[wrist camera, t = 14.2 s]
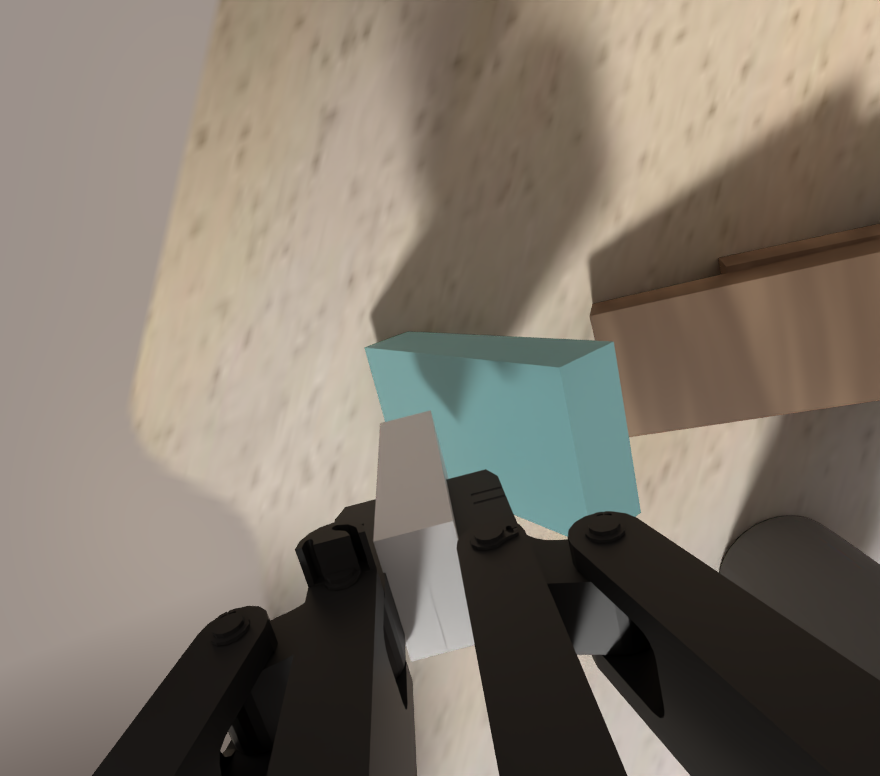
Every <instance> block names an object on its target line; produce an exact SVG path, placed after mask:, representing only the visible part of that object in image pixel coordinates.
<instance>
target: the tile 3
mask: <svg viewBox="0 0 880 776" xmlns="http://www.w3.org/2000/svg"><path fill="white" fill-rule="evenodd" d="M879 238H880V224H875V225H871V226H866V227H861V228H857V229H852V230H847V231H843V232H838V233H833V234H828V235H824V236H819V237H814V238H810V239H805V240H800V241H796V242H791V243H786V244H782V245H777V246H772V247H767V248H763V249H758V250H753V251H749V252H744V253H739V254H735V255H730V256H725V257H720V258H719V266H720V273H721V274H726V273H730V272H735V271H739V270H743V269H748V268H752V267H756V266H761V265H765V264H770V263H774V262H778V261H783V260H787V259H791V258H796V257H800V256H805V255H809V254H813V253H818V252H822V251H827V250H831V249H835V248H840V247H844V246H848V245H853V244H857V243H862V242H866V241H870V240H875V239H879Z"/></svg>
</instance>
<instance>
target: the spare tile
mask: <svg viewBox="0 0 880 776" xmlns="http://www.w3.org/2000/svg"><path fill="white" fill-rule="evenodd" d="M365 351H366V355H367V358H368V362H369V365H370V369H371V372H372V376H373V380H374V383H375V387H376V390H377V394H378V397H379V401H380V404H381V408H382V412H383V415H384V419H385V422H387V421H391V420H395V419H399V418H403V417H407V416H411V415H414V414H418V413H422V412H426V411H430V410H431V413H432V417H433V421H434V425H435V428H436V432H437V436H438V440H439V444H440V447H441V451H442V455H443V459H444V463H445V466H446V470H447V474H448V478H449V479H450V478H454V477H458V476H462V475H465V474H469V473H473V472H477V471H481V470H485V469H486V470H488V471H490V472H492V473H494V474H495V475H497V476H498V478H499V480H500V482H501V485H502V488H503V490H504V492H505V495H506V497H507V499H508V502H509V504H510V507H511V509H512V512H513V514H514V515H516V516H519V517H521V518H524V519H526V520H528V521H531V522H533V523H536V524H538V525H541V526H543V527H545V528H548V529H550V530H553V531H555V532H558V533H560V534H562V535H565V536H567V537H568V530H569V529H570V527H571V526H572V525H573V524H574V523H575V522H576V521H578V520H579V519H581V518H583V517H585V516H587V515H591V514H594V513H597V512H605V511H614V512H621V513H627V514H629V515H631V516H634V517H636V516H637V515H638V514H640V513H641V510H640V504H639V498H638V492H637V485H636V479H635V473H634V466H633V460H632V454H631V447H630V441H629V435H628V429H627V422H626V416H625V410H624V403H623V397H622V391H621V385H620V378H619V372H618V366H617V359H616V353H615V347H614V342H612V341H592V340H572V339H551V338H531V337H511V336H490V335H470V334H449V333H429V332H409V331H408V332H405V333H403V334H400V335H397V336H394V337H392V338H389V339H386V340H384V341H381V342H378V343H375V344H373V345H370V346H367V347H365Z"/></svg>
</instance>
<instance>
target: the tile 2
mask: <svg viewBox="0 0 880 776" xmlns="http://www.w3.org/2000/svg"><path fill="white" fill-rule="evenodd" d="M590 320H591V324H592V329H593V333H594V337H595V341H612V342H614V347H615V353H616V359H617V366H618V372H619V378H620V385H621V391H622V397H623V403H624V410H625V416H626V422H627V429H628V435H629V437H633V436H640V435H647V434H654V433H661V432H667V431H674V430H681V429H688V428H695V427H702V426H708V425H715V424H722V423H729V422H736V421H743V420H749V419H756V418H763V417H770V416H777V415H784V414H790V413H797V412H804V411H811V410H818V409H825V408H831V407H838V406H845V405H852V404H859V403H866V402H872V401H879V400H880V238H879V239H875V240H870V241H866V242H862V243H857V244H853V245H848V246H844V247H840V248H835V249H831V250H827V251H822V252H818V253H813V254H809V255H805V256H800V257H796V258H791V259H787V260H783V261H778V262H774V263H770V264H765V265H761V266H756V267H752V268H748V269H743V270H739V271H735V272H730V273H726V274H721V275H717V276H713V277H708V278H704V279H699V280H695V281H691V282H686V283H682V284H678V285H673V286H669V287H664V288H660V289H656V290H651V291H647V292H642V293H638V294H634V295H629V296H625V297H621V298H616V299H612V300H607V301H603V302H599V303H594V304H592V308H591V313H590Z"/></svg>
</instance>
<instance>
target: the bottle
mask: <svg viewBox="0 0 880 776" xmlns="http://www.w3.org/2000/svg"><path fill="white" fill-rule="evenodd" d="M720 574H722V575H723V576H725V577H726V578H727V579H729V580H730V581H732V582H733V583H735V584H736V585H738V586H739V587H741V588H742V589H744V590H745V591H747V592H748V593H750V594H751V595H753V596H754V597H756V598H757V599H759V600H760V601H762V602H763V603H765V604H766V605H768V606H769V607H771V608H772V609H774V610H775V611H777V612H778V613H780V614H781V615H783V616H784V617H786V618H787V619H789V620H790V621H792V622H793V623H795V624H796V625H798V626H799V627H801V628H802V629H804V630H805V631H807V632H808V633H810V634H811V635H813V636H814V637H816V638H817V639H819V640H820V641H822V642H823V643H825V644H826V645H828V646H829V647H831V648H832V649H834V650H835V651H837V652H838V653H840V654H841V655H843V656H844V657H846V658H847V659H849V660H850V661H852V662H853V663H855V664H856V665H858V666H859V667H861V668H862V669H864V670H865V671H867V672H868V673H869V674H871V675H872V676H874V677H875V678H877V679H878V680H880V564H878V563H877V562H876V561H874V560H873V559H871V558H870V557H868V556H867V555H866V554H864V553H863V552H861V551H860V550H858V549H857V548H856V547H854V546H853V545H851V544H850V543H848V542H847V541H846V540H844V539H843V538H841V537H840V536H838V535H837V534H835V533H834V532H832V531H831V530H829V529H828V528H826V527H825V526H823V525H822V524H820V523H818V522H816V521H814V520H812V519H809V518H805V517H800V516H781V517H776V518H772V519H768V520H766V521H764V522H761V523H759V524H757V525H755V526H754V527H752V528H751V529H749V530H748V531H746V532H745V533H744V534H742V535H741V536H740V537H739V538H738V539H737V540H736V542H735V543H734V544H733V545H732V546H731V548H730V549H729V551H728V552H727V554H726V556H725V558H724V560H723V562H722V565H721V569H720Z"/></svg>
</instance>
